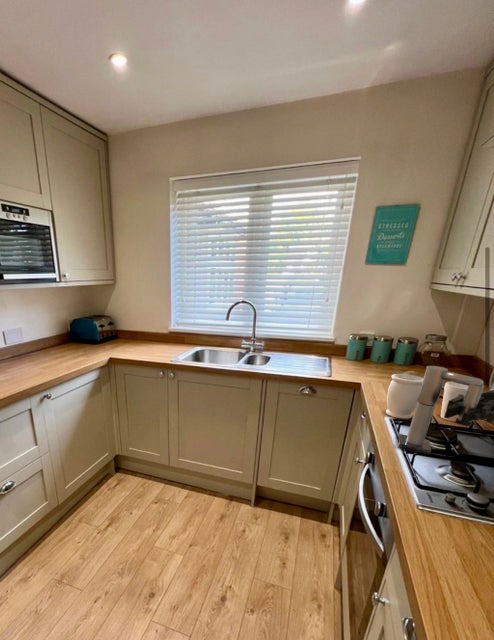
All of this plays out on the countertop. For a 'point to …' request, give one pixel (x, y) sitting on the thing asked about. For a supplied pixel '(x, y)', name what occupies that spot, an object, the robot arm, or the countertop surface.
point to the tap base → (414, 447)
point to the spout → (438, 374)
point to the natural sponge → (412, 373)
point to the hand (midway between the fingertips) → (455, 415)
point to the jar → (403, 395)
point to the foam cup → (452, 396)
